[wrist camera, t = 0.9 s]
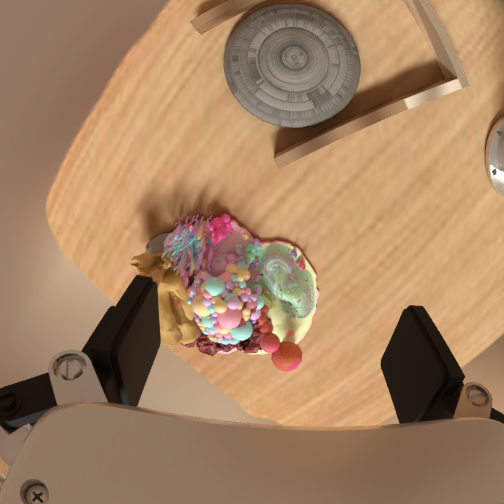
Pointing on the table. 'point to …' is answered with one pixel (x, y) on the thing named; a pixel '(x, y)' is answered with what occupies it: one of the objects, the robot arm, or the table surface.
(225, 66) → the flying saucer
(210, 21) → the bay
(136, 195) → the table surface
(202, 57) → the table surface
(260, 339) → the candy landscape model
